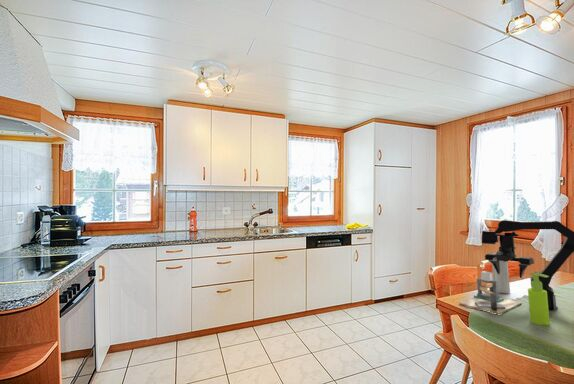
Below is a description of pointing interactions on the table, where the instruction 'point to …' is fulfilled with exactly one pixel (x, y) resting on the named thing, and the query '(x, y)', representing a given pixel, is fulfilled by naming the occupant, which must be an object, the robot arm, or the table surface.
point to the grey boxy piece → (487, 278)
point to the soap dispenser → (538, 301)
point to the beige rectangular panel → (489, 304)
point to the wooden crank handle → (490, 294)
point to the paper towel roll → (502, 277)
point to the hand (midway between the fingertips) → (509, 276)
